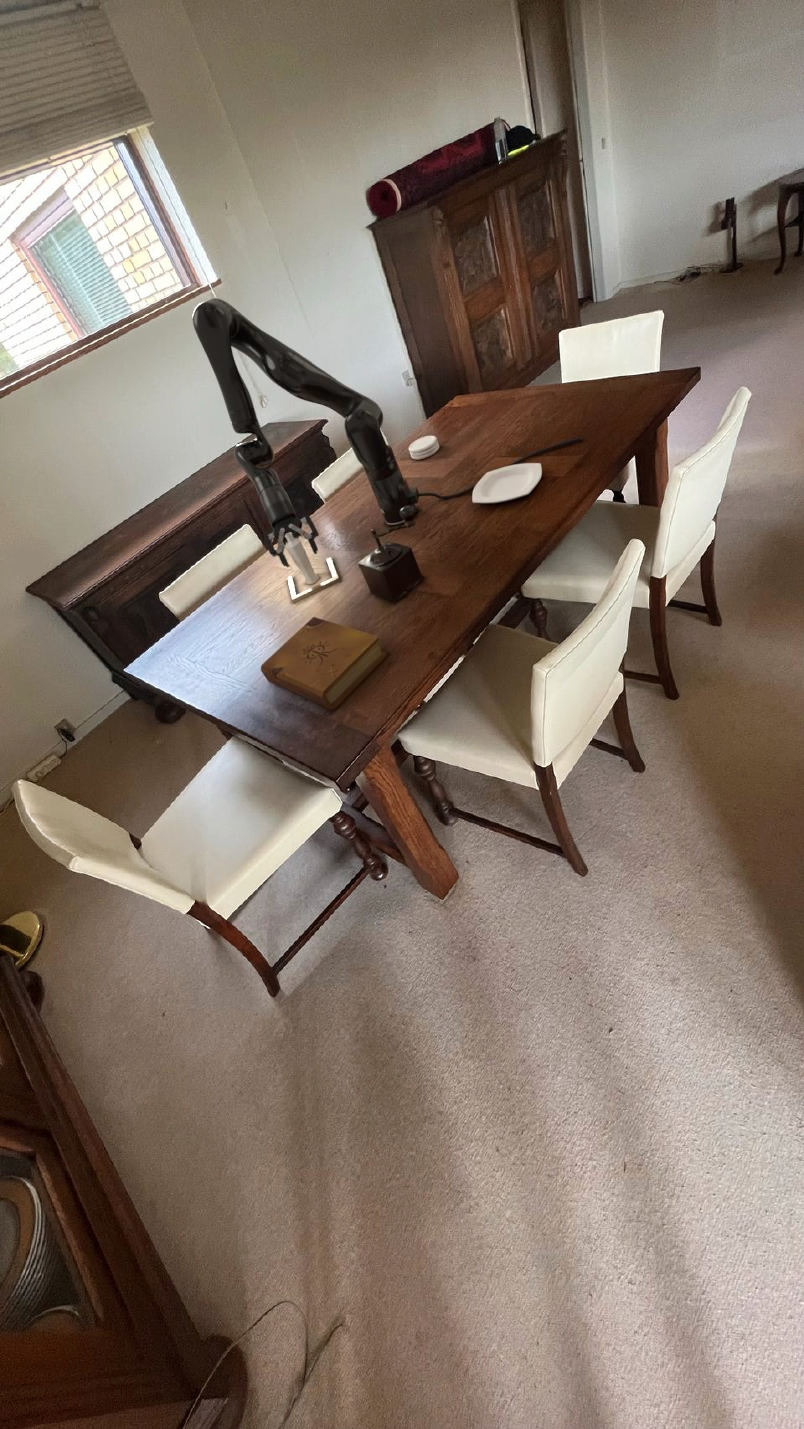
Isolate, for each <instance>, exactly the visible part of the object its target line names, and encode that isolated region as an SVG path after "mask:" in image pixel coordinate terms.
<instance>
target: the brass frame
mask: <svg viewBox="0 0 804 1429" xmlns="http://www.w3.org/2000/svg"><path fill="white" fill-rule="evenodd" d="M326 562H327V566H328V568H329V572H330V574H331V578H329V579H327V580H326V581H323V582H321V583H318V584H316V585H314V586H313V587H311V588H309V589H306V590H304V591H302V592H300V593H297V592H298V591H297V589H296V585H295V580H294V578H293V576H292V575H291V576H288V577H287V578H286V580H287V584H288V589H289V592H290V597H291V601H292V602H293V603H294V604H295V603H296V602H298V601H300V600H303V599H304V598H306V597H309V596H311V595H314V594H315V593H317V592H320V591H322V590H324V589H326V588H328V587H330V586H333V585H334V584H336V583H339V582H340V581H341V580H340V577H339V574H338V571H337V569H336V565H335V563H334V560H333V558H332V556H330V557H328V558H326Z"/></svg>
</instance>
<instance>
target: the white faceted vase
mask: <svg viewBox="0 0 804 1429" xmlns="http://www.w3.org/2000/svg"><path fill="white" fill-rule="evenodd" d="M285 537H286V539H287V541H288V543H286V546H285V548H284V549H285V550H286V551H287V553H288V554H289V556H290V558H291V560H293V562H294V563H295V565H296V566H297V568H298V570H299V571H300V573H301V575H303V577H304V579H305V582H306V585H314V584H315V583H316V582H318V580H319V579H320V578H319V577H318V575H317V574H316V573H315V570H314V568H313V565H312V563H311V561H310V559H309V557H308V555H307V553H306V552H307V551H306V550H305V548H304V546H303V543H302V541H301V539H299V538H294V537H293V535H292V533H291V532H289V533H287V534H286V535H285Z"/></svg>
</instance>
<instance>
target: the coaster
mask: <svg viewBox="0 0 804 1429" xmlns="http://www.w3.org/2000/svg"><path fill="white" fill-rule="evenodd" d="M439 449H440V444H439V441H438V438H437V437H436V436H435V435H425V436H422V437H420V438H418V439H415V440H414V441H413V442H412V443H411V444H410V445H409V446H408V452H409V454H410V457H411V459H413V460H416V461H418V460H424V459H427V458H429V457H431V456H433V455H435V454H436V453H437V452H438V451H439Z"/></svg>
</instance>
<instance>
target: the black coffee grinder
mask: <svg viewBox="0 0 804 1429" xmlns="http://www.w3.org/2000/svg"><path fill="white" fill-rule="evenodd" d="M416 515H417V509H416V510H415V508H414V507H412V506H405V507H403V508H402V509H401V510H400V516H401V517H402V518H403V519H404V523H403V524H401V525H397V526H392V527H391V528H388V529H386V530H384V531H381V532H380V533H377V530H376V529H375V528H372V529H371V530H370V534H371V535H372V539H374V540H375V543H376V545H377V547H376V548H375V549H374V550H372V552H370V553H369V554H368V555H366V556H365V557H363V558H362V559H361V560H360V561H358V562H357V565H358V567H359V569H360V572H361V574H362V576H363V578H364V580H365V583H366V585H367V587H368V589H369V592H370V593H371V594H373V595H375V596H376V597H379V598H382V599H383V600H387V601H389V602H391V603H396V602H398V601H399V600H400V599H402V598H403V597H404V596H406V595H407V594H408V593H409V592H411V591H412V590H413V589H414V588H415V587H416V586H418V584H419V583H420V582H421V581H422V580H423V579H424V576H423V575H422V572H421V570H420V567H419V564H418V562H417V560H416V557H415V554H414V552H413V549H412V548H411V546H407V545H403V544H400V543H396V542H392V541H388V540H386V541H384V542H383V543H381V541H380V539H379V538H381V537H384V536H386V535H388V534H390V533H392V532H395V531H398V530H403V529H406V528H407V529H410V528H411V527H414V526H415V525H416V522H415V520H414V519H415V516H416Z"/></svg>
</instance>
